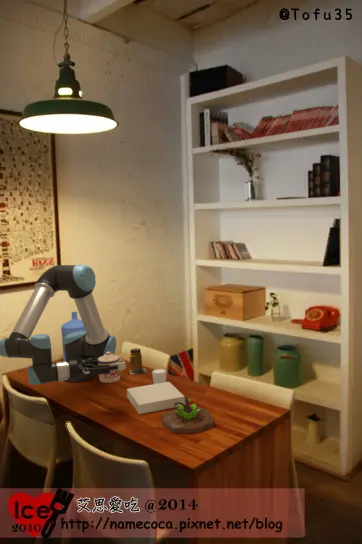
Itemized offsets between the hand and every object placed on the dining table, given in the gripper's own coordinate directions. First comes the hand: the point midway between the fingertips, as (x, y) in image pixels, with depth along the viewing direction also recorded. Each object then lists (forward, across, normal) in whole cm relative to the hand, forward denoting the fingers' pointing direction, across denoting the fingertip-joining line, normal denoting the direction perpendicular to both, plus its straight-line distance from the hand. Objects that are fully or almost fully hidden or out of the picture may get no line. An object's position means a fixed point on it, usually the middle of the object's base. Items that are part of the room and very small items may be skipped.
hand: (122, 362), depth 200 cm
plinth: (+14, -1, -20) cm, 24 cm away
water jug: (-9, -79, -20) cm, 82 cm away
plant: (+19, +25, -20) cm, 37 cm away
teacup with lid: (-4, 0, -7) cm, 8 cm away
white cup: (+21, -19, -20) cm, 35 cm away
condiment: (+17, -43, -20) cm, 50 cm away
